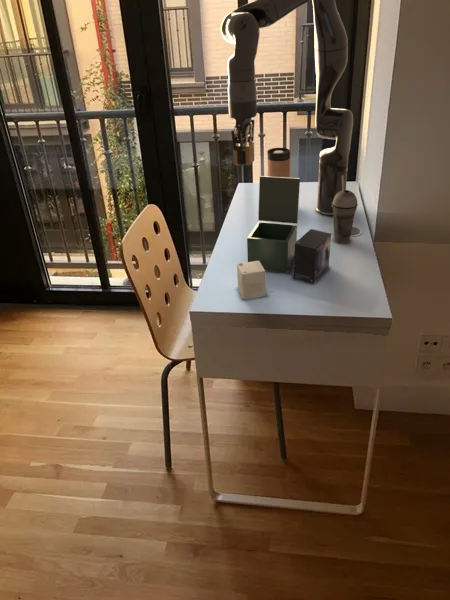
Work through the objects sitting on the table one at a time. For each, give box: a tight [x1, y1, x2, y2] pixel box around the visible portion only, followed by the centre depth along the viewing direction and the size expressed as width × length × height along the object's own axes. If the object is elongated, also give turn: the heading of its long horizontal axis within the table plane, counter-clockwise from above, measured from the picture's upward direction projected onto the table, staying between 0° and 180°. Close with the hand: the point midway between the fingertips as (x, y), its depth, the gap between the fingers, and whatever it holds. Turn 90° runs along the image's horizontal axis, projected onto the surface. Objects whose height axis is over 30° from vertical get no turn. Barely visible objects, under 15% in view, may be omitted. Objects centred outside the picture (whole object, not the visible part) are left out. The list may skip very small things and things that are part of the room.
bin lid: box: [257, 175, 301, 225], centre depth 141 cm, size 12×11×1 cm
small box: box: [292, 228, 332, 284], centre depth 134 cm, size 11×6×10 cm, turn 148°
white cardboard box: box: [236, 261, 267, 301], centre depth 128 cm, size 6×6×7 cm
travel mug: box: [266, 147, 291, 178], centre depth 173 cm, size 8×8×20 cm
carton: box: [233, 141, 255, 166], centre depth 143 cm, size 5×5×5 cm
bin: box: [246, 221, 298, 274], centre depth 142 cm, size 12×11×9 cm
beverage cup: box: [332, 176, 359, 245], centre depth 148 cm, size 7×7×20 cm
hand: (244, 161), depth 144 cm, fingers closed on carton, 4 cm apart
